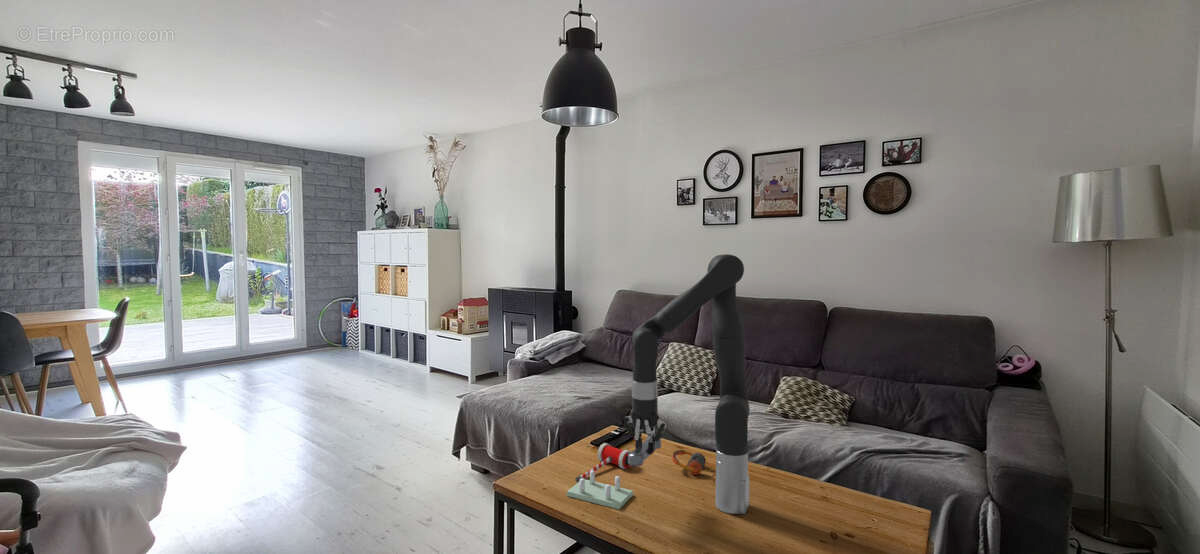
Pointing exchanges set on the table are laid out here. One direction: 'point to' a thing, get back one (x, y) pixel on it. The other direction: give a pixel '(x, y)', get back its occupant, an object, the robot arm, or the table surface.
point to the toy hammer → (609, 458)
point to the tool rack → (600, 492)
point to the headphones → (692, 462)
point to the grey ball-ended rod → (641, 453)
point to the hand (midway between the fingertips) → (645, 452)
